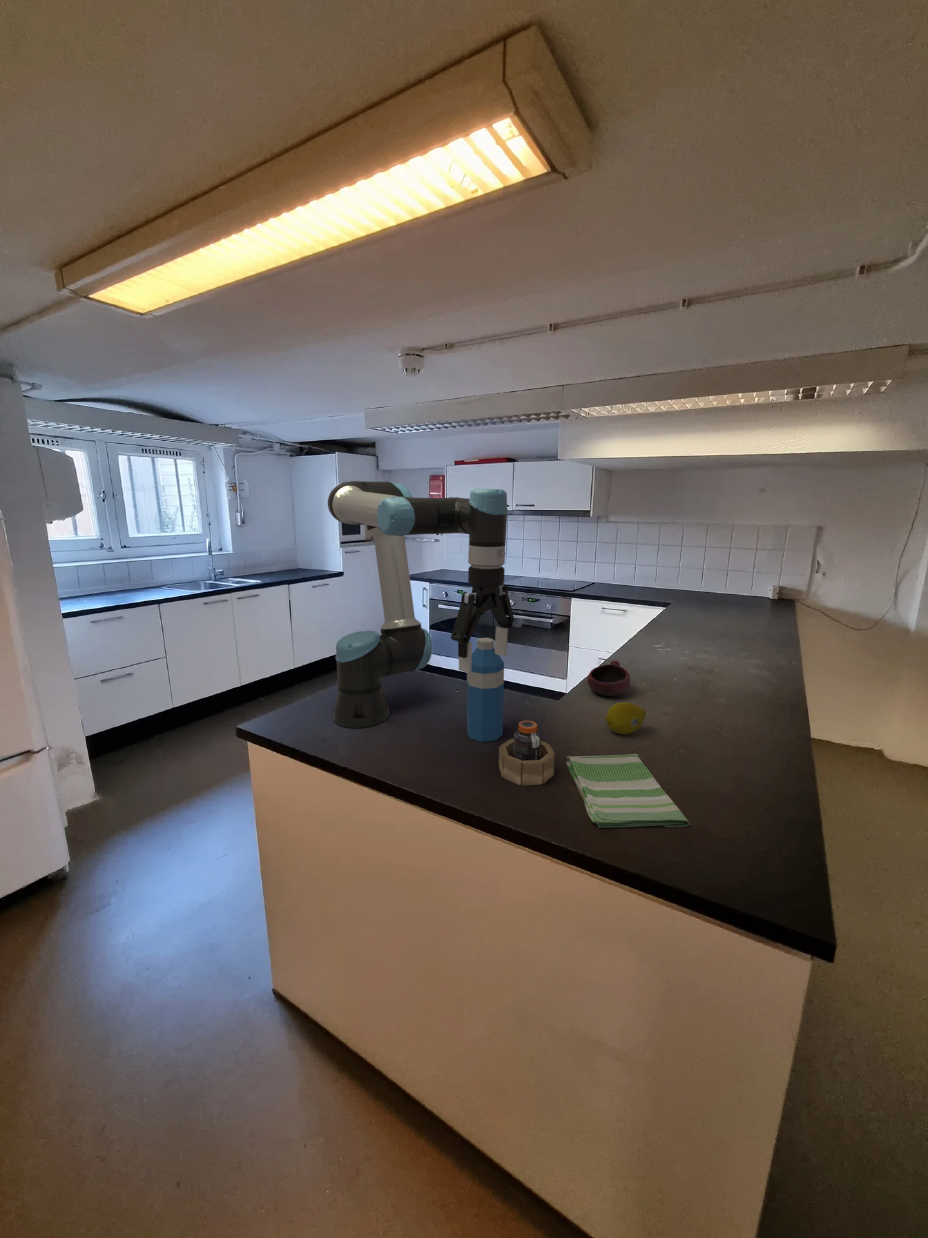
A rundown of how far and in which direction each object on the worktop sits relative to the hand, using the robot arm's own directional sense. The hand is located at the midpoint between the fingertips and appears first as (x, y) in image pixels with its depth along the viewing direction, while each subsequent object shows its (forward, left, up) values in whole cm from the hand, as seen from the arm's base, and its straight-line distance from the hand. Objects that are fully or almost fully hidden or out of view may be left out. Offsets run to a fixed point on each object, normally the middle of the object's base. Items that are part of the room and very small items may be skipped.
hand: (483, 662), depth 106 cm
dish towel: (+29, +8, -25) cm, 39 cm away
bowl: (+5, +59, -24) cm, 64 cm away
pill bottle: (+10, +3, -24) cm, 26 cm away
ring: (+10, +3, -24) cm, 26 cm away
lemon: (+20, +35, -24) cm, 47 cm away
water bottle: (-8, +12, -24) cm, 28 cm away
